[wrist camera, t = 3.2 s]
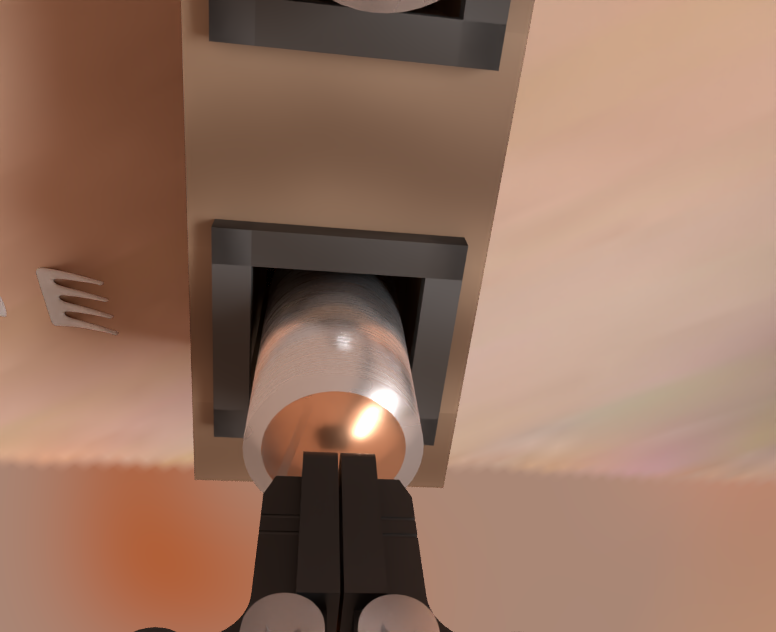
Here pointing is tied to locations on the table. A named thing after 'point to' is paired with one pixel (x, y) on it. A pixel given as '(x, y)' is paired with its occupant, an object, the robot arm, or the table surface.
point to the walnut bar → (341, 183)
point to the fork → (60, 307)
